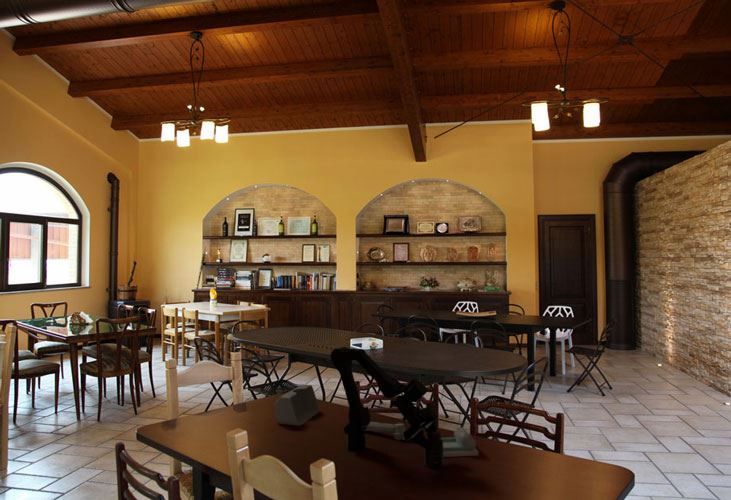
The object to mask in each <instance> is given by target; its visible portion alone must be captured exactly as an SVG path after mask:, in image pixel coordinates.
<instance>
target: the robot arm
mask: <svg viewBox="0 0 731 500" xmlns="http://www.w3.org/2000/svg"><path fill="white" fill-rule="evenodd" d="M329 357H330V360H331V363H332V364H333V366H334V367H335V369H336V370H337V371H338V372H339V375H340V378H341V379H340V380H341V382H342V386H343V389H344V393H345V396H346V397H345V398H346V400H347V403H348V408H349V410H348V415H347V416H348V423H347V425H345V426H344V427H343V432H344V434H345V435H346V436H347V437H346V438H347V439H346V448H347V451H351V452H352V451H365V450H366V449H365V447H366V435H365V431H364V430H366V428H367V426H368V425H369V423H370V422H371V418H372V415H371V413H370V410H369V409H370V408H369V407H368V406H366V407H365V406H364V405H363V404H362V401H361V399H360V395H359V391H358V387H357V385H356V381H355V377H354V373H353V370H352V365H353V364H352V363H353V361H356V362H357V363H358V364H359V365H360V366H361V367H362V368H363V370H365V371H366V373H368V375H369V376H371V378H372V379H373V380H374V381H375V383H377V387H378V390H379V391H380V393H381V394H382V396H384V398H386V399H391V400H390V401H389V402H390V403H389V404H390V405H389V409H392V408H395V407H396V409H397V410H398V411H399V412H400V414H401V415H402V416H403V418H402V420H403V422H405V421H406V422H407V423H408V424H409V425H410V426H409V427H408V428H407V429H405V430H406V431H405V432H404V433H403V437H404V438H405V439H406V440H405V441H406V442H407V441H409V442H412V443H414V444H416V445H418V446H420V447H422V448H423V449H424V448H426V449H427V450H429V451H430V450H432V448H431V446H430V444H429V443H428V441H427V439H426V438H427V437H426V436H425V435H424V431H425V433H427V431H428V430H431V429H435V430H439V429H438V426H437V425H438V421H439V417H438V415H437V410H436V409H437V405H435V404H434V403H433V402H431V401H429V402H427V403H426V404H425V407H422V408H421V407H420V406H419V405H418V406H416V405H415V404H414V403H417V402H419V401H420V400H421V399H422V398H423V397H424V396H425V395H426V394H427V393H428V388H427V387H426V385H425V384H424V383H422V382H421V381H419V380H417V378H412V380H410V382H409V383H408V384H404V383H401V382H400V381H399V380H397V379H396V378H395V377H394V376H392V375H389V374H388V373H387V372H385V371H384V370H383V369H382V368H381V367H380V366H379V365H378V364H377V363H376V362H375V361H374V360H373V358H371V356H369V355H368V353H367V352H366V350H365V349H363V348H348V347H347V346H341V347H340V346H339V347H337V348H334V349H332V351H331V353H330V356H329ZM401 394H402V395H401ZM395 397H396V398H395ZM392 398H395V399H392ZM440 438H442V436H441V437H440Z"/></svg>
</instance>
